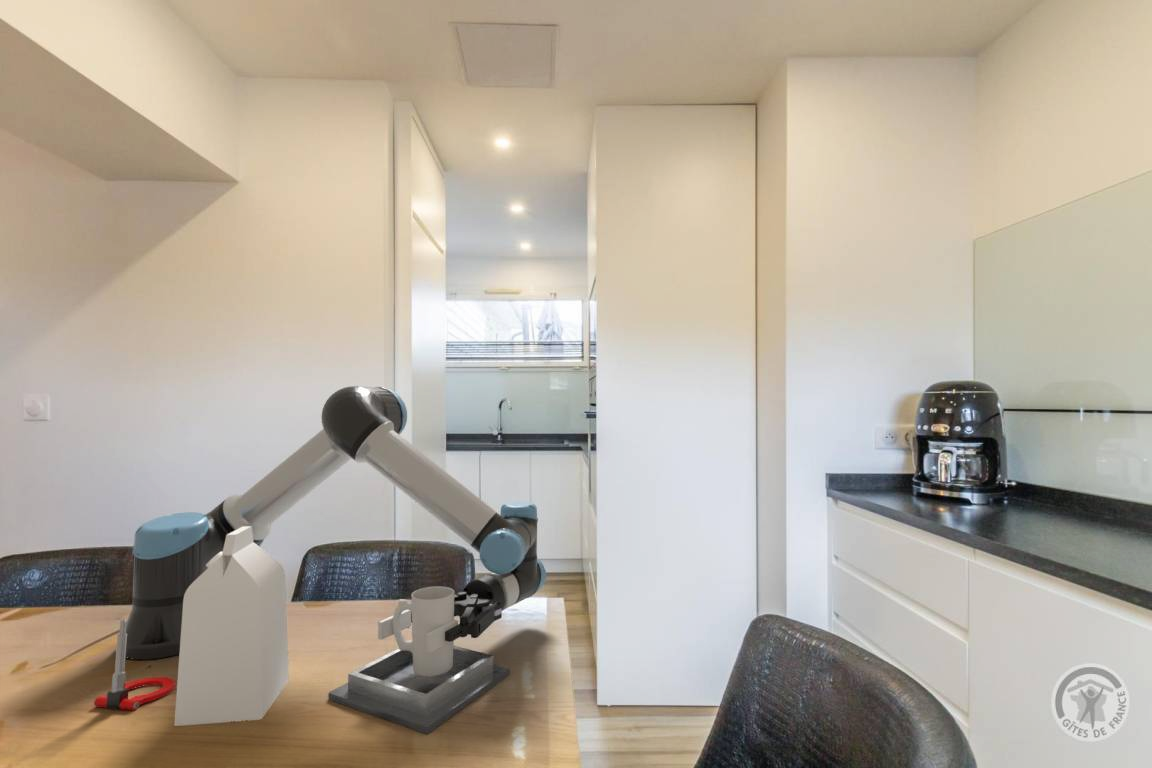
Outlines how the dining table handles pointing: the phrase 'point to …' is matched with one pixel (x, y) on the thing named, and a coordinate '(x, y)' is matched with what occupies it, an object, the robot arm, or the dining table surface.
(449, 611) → the mug
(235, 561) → the milk
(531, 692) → the dining table surface
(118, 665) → the tow hook
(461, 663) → the grey shallow square tray
